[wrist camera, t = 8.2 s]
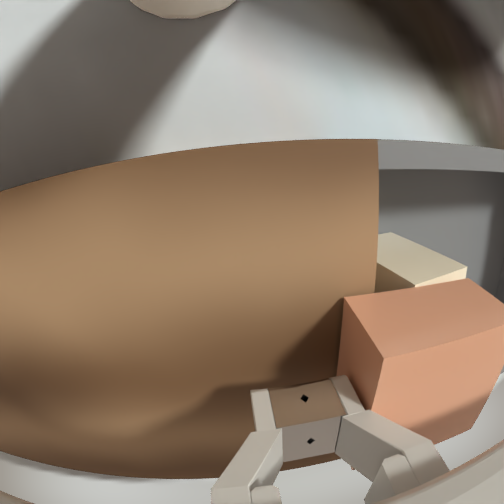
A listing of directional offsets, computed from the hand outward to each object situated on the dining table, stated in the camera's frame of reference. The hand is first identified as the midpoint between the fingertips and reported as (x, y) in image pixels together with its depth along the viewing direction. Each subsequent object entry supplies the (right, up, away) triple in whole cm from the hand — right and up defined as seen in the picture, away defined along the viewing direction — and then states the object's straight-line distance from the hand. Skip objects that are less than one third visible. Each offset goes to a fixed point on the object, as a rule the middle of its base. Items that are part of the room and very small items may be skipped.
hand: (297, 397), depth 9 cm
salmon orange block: (+4, +1, +1) cm, 4 cm away
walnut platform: (-9, +2, +6) cm, 11 cm away
